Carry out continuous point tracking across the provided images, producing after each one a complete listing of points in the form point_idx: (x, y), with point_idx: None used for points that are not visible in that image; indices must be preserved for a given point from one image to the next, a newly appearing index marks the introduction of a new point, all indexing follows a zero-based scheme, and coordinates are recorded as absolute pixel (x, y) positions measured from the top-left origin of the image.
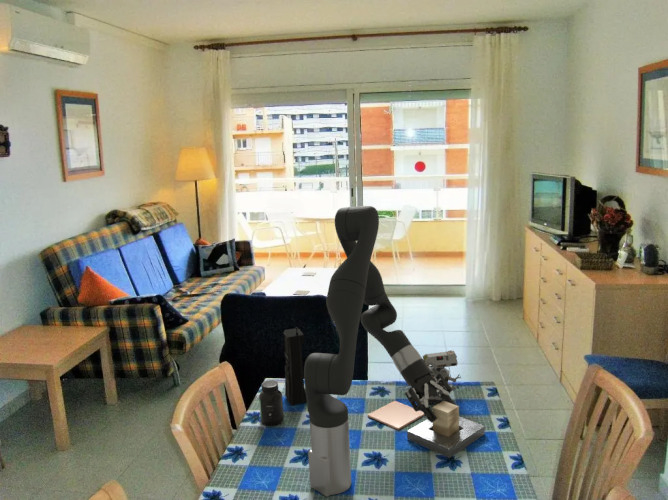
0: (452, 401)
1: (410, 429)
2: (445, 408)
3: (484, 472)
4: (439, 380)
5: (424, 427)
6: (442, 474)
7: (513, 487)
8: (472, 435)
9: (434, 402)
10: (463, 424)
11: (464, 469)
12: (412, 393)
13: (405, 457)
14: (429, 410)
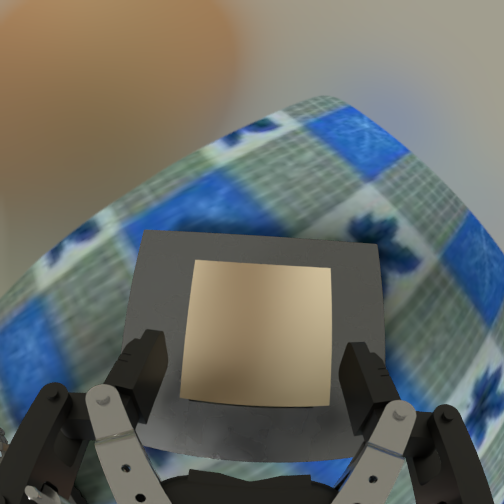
0: (124, 359)
1: None
2: (285, 318)
3: (342, 160)
4: (43, 495)
5: (311, 426)
6: (426, 231)
7: (336, 110)
8: (227, 236)
9: (73, 486)
10: (175, 302)
11: (371, 199)
12: (487, 497)
13: (444, 362)
14: (382, 386)
